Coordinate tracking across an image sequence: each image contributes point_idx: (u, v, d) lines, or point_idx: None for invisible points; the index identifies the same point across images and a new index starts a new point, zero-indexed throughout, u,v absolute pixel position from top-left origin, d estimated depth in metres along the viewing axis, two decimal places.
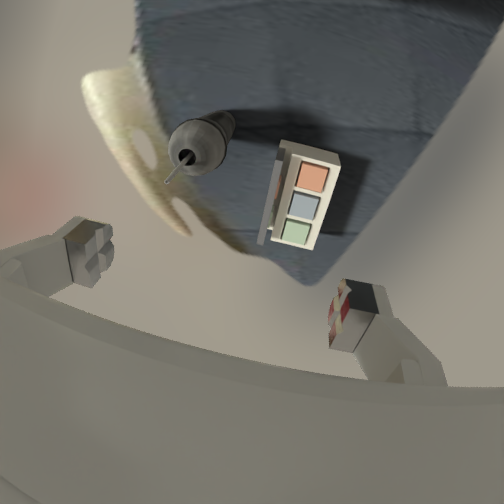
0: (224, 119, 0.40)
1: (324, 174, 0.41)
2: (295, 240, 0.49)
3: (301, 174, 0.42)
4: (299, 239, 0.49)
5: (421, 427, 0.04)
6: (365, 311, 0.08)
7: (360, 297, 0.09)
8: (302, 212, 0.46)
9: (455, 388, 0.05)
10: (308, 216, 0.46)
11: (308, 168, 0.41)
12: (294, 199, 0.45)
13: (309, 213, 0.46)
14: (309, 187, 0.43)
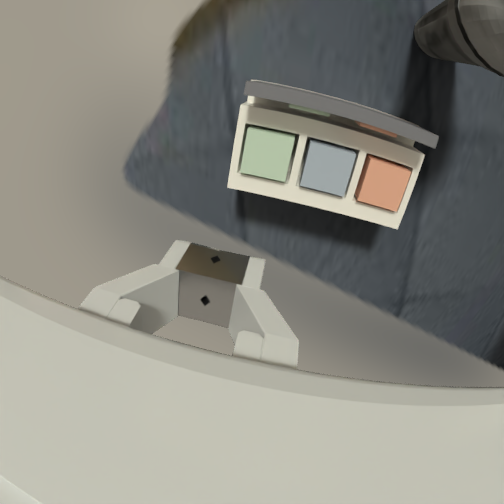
0: None
1: (390, 206, 0.23)
2: (249, 155, 0.23)
3: (392, 168, 0.22)
4: (252, 163, 0.23)
5: (421, 427, 0.04)
6: (225, 281, 0.08)
7: (227, 267, 0.09)
8: (316, 167, 0.23)
9: (455, 388, 0.05)
10: (308, 178, 0.23)
11: (402, 181, 0.22)
12: (344, 153, 0.22)
13: (314, 180, 0.23)
14: (368, 181, 0.23)
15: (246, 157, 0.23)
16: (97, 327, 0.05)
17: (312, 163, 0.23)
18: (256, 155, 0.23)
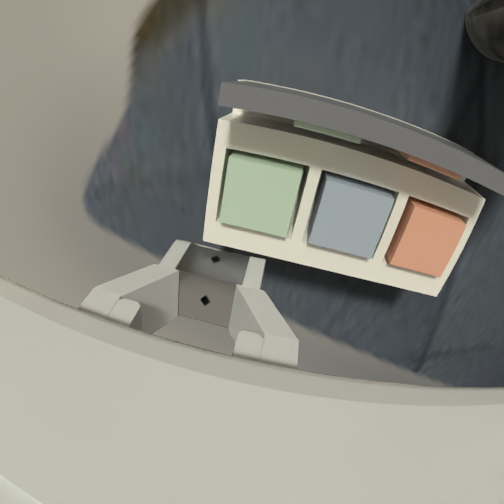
0: None
1: (433, 270, 0.16)
2: (232, 198, 0.16)
3: (443, 220, 0.14)
4: (237, 209, 0.16)
5: (421, 427, 0.04)
6: (225, 281, 0.08)
7: (227, 267, 0.09)
8: (333, 218, 0.15)
9: (455, 388, 0.05)
10: (320, 234, 0.16)
11: (454, 237, 0.14)
12: (377, 198, 0.14)
13: (330, 236, 0.16)
14: (407, 238, 0.15)
15: (228, 201, 0.16)
16: (97, 327, 0.05)
17: (328, 212, 0.15)
18: (243, 198, 0.15)
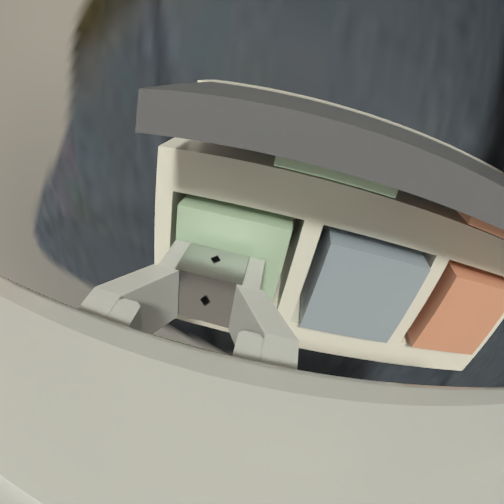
0: None
1: (464, 349, 0.11)
2: None
3: (490, 291, 0.09)
4: None
5: (421, 427, 0.04)
6: (225, 281, 0.08)
7: (227, 267, 0.09)
8: (338, 296, 0.10)
9: (455, 388, 0.05)
10: (318, 316, 0.11)
11: (498, 309, 0.09)
12: (405, 268, 0.09)
13: (332, 319, 0.11)
14: (440, 316, 0.10)
15: None
16: (97, 327, 0.05)
17: (330, 288, 0.10)
18: None
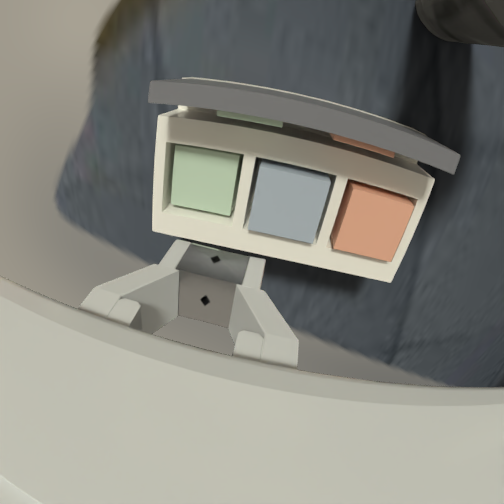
0: None
1: (381, 255, 0.17)
2: (180, 182, 0.17)
3: (387, 202, 0.15)
4: (185, 192, 0.17)
5: (421, 427, 0.04)
6: (225, 281, 0.08)
7: (227, 267, 0.09)
8: (270, 204, 0.16)
9: (455, 388, 0.05)
10: (258, 220, 0.16)
11: (401, 219, 0.15)
12: (312, 181, 0.15)
13: (268, 222, 0.16)
14: (349, 221, 0.16)
15: (177, 184, 0.17)
16: (97, 327, 0.05)
17: (263, 197, 0.16)
18: (189, 181, 0.17)
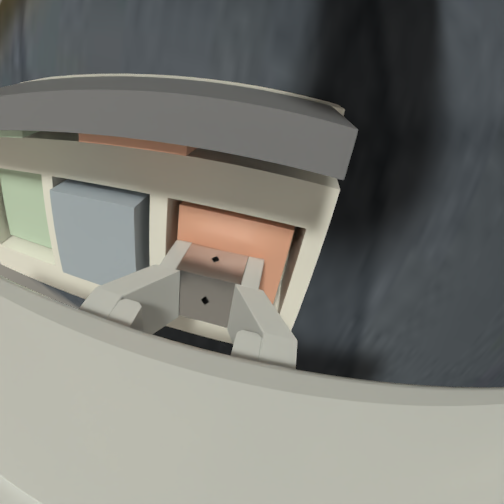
0: None
1: None
2: (10, 209, 0.11)
3: (240, 225, 0.09)
4: (17, 221, 0.11)
5: (421, 427, 0.04)
6: (224, 280, 0.08)
7: (226, 267, 0.09)
8: (72, 240, 0.10)
9: (455, 388, 0.05)
10: (68, 261, 0.10)
11: (272, 253, 0.10)
12: (109, 208, 0.09)
13: (79, 264, 0.10)
14: None
15: (9, 212, 0.11)
16: (97, 327, 0.05)
17: (64, 232, 0.10)
18: (16, 209, 0.11)
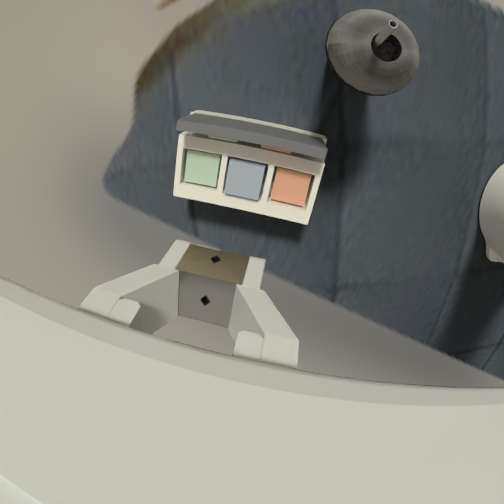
0: None
1: (297, 202, 0.33)
2: (189, 169, 0.32)
3: (296, 173, 0.31)
4: (192, 174, 0.32)
5: (421, 427, 0.04)
6: (225, 281, 0.08)
7: (227, 267, 0.09)
8: (235, 179, 0.31)
9: (455, 388, 0.05)
10: (229, 187, 0.32)
11: (305, 182, 0.31)
12: (255, 167, 0.30)
13: (234, 189, 0.32)
14: (277, 184, 0.32)
15: (187, 170, 0.32)
16: (97, 327, 0.05)
17: (231, 176, 0.31)
18: (194, 168, 0.32)
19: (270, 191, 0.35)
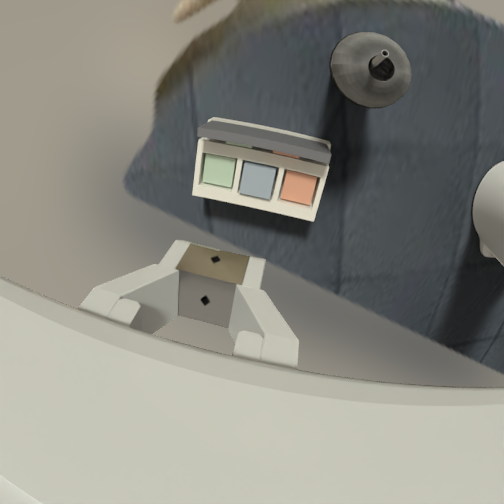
0: None
1: (304, 201, 0.36)
2: (207, 171, 0.36)
3: (303, 175, 0.35)
4: (210, 175, 0.36)
5: (421, 427, 0.04)
6: (225, 281, 0.08)
7: (227, 267, 0.09)
8: (249, 180, 0.35)
9: (455, 388, 0.05)
10: (244, 188, 0.35)
11: (311, 183, 0.35)
12: (267, 170, 0.34)
13: (248, 189, 0.35)
14: (286, 185, 0.36)
15: (206, 172, 0.36)
16: (97, 327, 0.05)
17: (246, 177, 0.35)
18: (212, 170, 0.36)
19: (280, 191, 0.39)
